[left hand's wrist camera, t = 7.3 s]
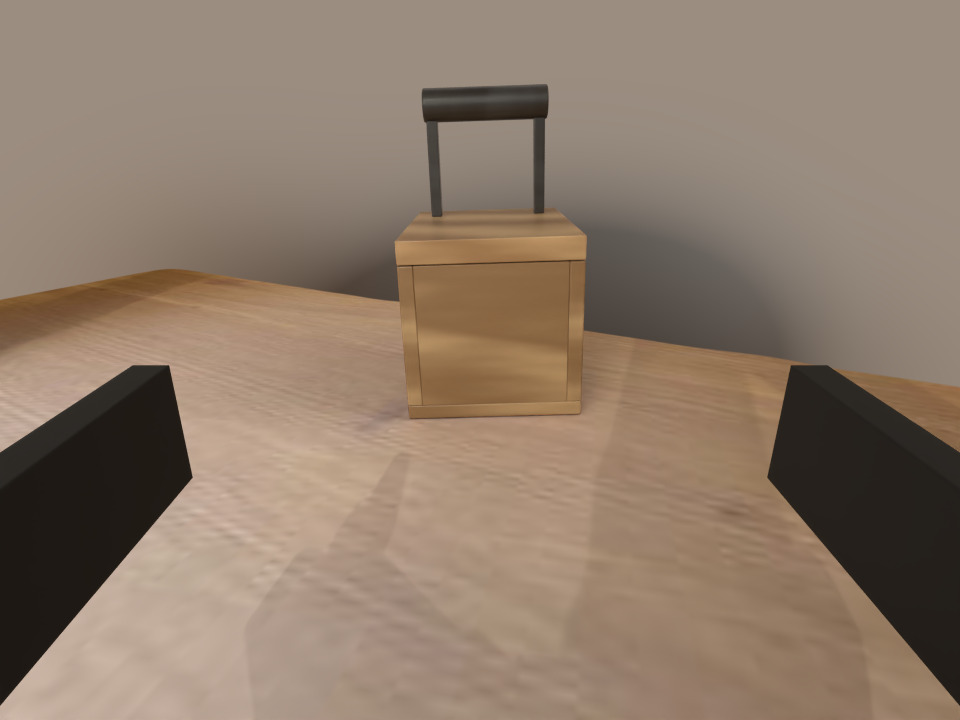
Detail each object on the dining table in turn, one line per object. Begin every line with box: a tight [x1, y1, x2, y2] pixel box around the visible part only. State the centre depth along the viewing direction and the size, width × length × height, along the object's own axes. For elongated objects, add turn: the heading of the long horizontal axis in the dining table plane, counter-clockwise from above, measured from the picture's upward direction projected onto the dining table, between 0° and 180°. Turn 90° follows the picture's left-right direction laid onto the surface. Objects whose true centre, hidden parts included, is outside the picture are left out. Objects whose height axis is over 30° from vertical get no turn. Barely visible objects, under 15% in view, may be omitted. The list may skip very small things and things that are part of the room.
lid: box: [395, 84, 587, 266], centre depth 35 cm, size 14×10×9 cm
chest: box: [397, 260, 586, 419], centre depth 38 cm, size 13×10×9 cm
